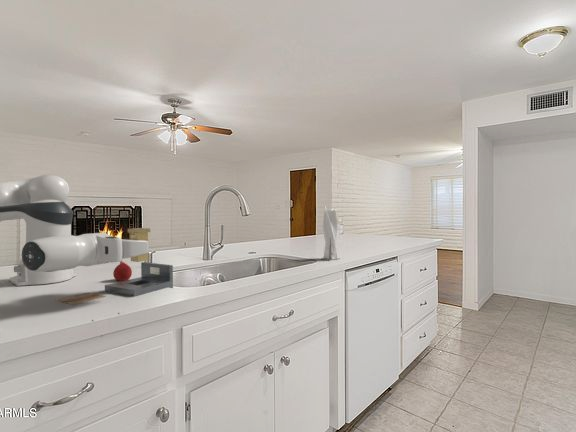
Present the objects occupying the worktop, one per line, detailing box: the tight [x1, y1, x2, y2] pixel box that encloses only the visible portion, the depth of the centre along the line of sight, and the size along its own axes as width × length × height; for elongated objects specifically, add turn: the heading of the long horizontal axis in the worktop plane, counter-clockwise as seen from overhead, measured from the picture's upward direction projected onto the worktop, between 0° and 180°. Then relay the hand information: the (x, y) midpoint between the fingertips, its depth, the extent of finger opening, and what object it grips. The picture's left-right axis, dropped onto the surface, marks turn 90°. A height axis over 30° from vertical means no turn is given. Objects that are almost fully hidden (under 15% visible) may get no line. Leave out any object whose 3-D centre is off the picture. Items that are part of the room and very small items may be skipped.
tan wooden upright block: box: [127, 227, 151, 263], centre depth 99 cm, size 5×5×10 cm
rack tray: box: [104, 261, 174, 297], centre depth 99 cm, size 14×14×8 cm
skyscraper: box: [320, 205, 341, 261], centre depth 163 cm, size 8×8×28 cm
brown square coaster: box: [54, 292, 107, 306], centre depth 88 cm, size 9×9×1 cm
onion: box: [112, 260, 133, 282], centre depth 111 cm, size 6×6×8 cm
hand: (141, 243), depth 99 cm, fingers closed on tan wooden upright block, 4 cm apart
